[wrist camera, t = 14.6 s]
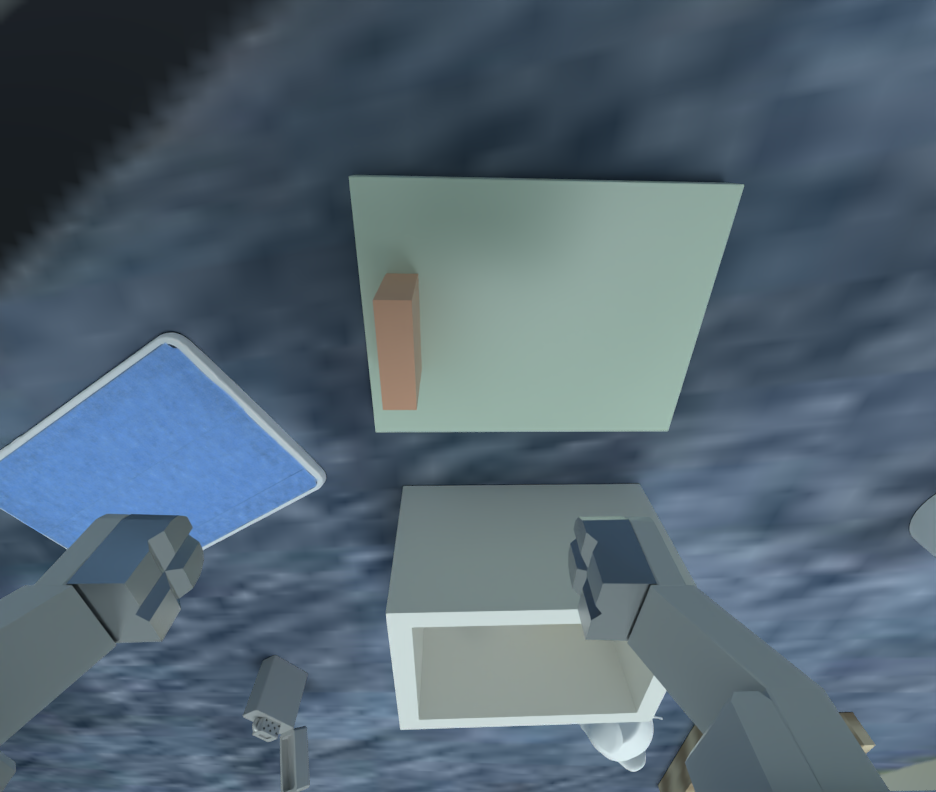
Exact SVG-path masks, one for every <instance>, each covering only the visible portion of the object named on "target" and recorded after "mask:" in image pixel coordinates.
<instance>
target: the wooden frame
mask: <svg viewBox="0 0 936 792" xmlns="http://www.w3.org/2000/svg"><path fill="white" fill-rule="evenodd" d="M839 714H840V715H841V717H842V718H843V720H844V721H845V723H846V724H847V726H848V728H849V729H850V731H851V732H852V734H853V735H854V737H855V738H856V740H857V741H858V743H859V744H860V746H861V747H862V749H863V751H864V752H865V754H866V753H867V752H868V751H869V750H871V749H872V748H873V747H874V746H875V744H874V742H873V741H872V739H871V738H870V736H869V735H868V734H867V732H866V731H865V729H864V728H863V727H862V725H861V724H860V722H859V721H858V720H857V718H856V717H855V715H854V714H853V712H849V713H839ZM702 736H703V733H702V732H701V731H700V730H699V729H698V727H697V726H696V725H694V727H693V729H692V730H691V732H690V734H689V735H688V737H687V738H686V740H685V742H684V743H683V745H682V747H681V748H680V750H679V752H678V753H677V755H676V757H675V758H674V760H673V762H672V763H671V765H670V767H669V768H668V770H667V772H666V773H665V775H664V777H663V778H662V780H661V781H660V783H659V785H658V787H659V790H660V792H695V790H694V787H693V784H692V781H691V779H690V776H689V773H688V770H687V767H686V764H685V761H686V759H687V758H688V756H689V754H690V752H691V751H692V750H693V748H694V747H695V745H696V744H697V743H698V741H699V740H700V738H701V737H702Z"/></svg>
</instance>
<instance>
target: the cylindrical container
mask: <svg viewBox="0 0 936 792" xmlns="http://www.w3.org/2000/svg"><path fill="white" fill-rule="evenodd" d="M909 532H910V534H911V536H912V537H913V538H914V539H915V540H916V541H917V542H918V543H919V544H921V545H922V546H923V547H924V548H925V549H927V550H928V551H929V552H930V553H931V554H932V555H934V556H935V557H936V494H935V495H934V496H932V497H931V498H930V499H928V500H927V501H926V502H925V503H924V504H923V505H922V506H921V507H920V508H919V509H918V510H917V511H916V513H915V514H914V516H913V518H912V519H911V522H910V526H909Z"/></svg>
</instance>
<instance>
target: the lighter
mask: <svg viewBox="0 0 936 792" xmlns="http://www.w3.org/2000/svg"><path fill="white" fill-rule="evenodd" d="M307 676H308V673H306V672H304V671H303V670H301V669H299V668H297V667H296V666H294V665H292V664H290V663H289V662H287V661H285V660H284V659H282V658H280V657H278V656H277V655H273V656H271V657H269V658H267V659H265V660H263V661H262V664H261V667H260V670H259V672H258V675H257V678H256V681H255V684H254V686H253V689H252V692H251V695H250V697H249V700H248V703H247V706H246V708H245V711H244V714H243V717H244V718H246V719H248V720H251V721H253V725H252V728H253V734H252V735H254V736H256V737H258V738H261V739H263V740H265V741H267V742H270V741H273V740H275V739H277V737H278V734H281V736H280V765H281V792H299V791H301V790H304V789H307V788H308V787H309V785H310V780H309V760H308V740H307V727H306V726H303V727H299V728H295V729H293V728H294V724H295V720H296V717H297V713H298V709H299V705H300V702H301V698H302V694H303V691H304V687H305V683H306V679H307Z"/></svg>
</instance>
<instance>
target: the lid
mask: <svg viewBox="0 0 936 792" xmlns="http://www.w3.org/2000/svg"><path fill="white" fill-rule="evenodd" d="M349 185H350V195H351V204H352V213H353V223H354V232H355V242H356V251H357V261H358V270H359V279H360V289H361V298H362V308H363V317H364V326H365V336H366V345H367V355H368V364H369V373H370V383H371V392H372V402H373V411H374V421H375V430H376V432H573V431H668V430H669V426H670V423H671V420H672V417H673V413H674V410H675V407H676V404H677V401H678V397H679V394H680V391H681V388H682V384H683V381H684V378H685V375H686V372H687V368H688V365H689V362H690V359H691V356H692V352H693V349H694V346H695V343H696V339H697V336H698V333H699V330H700V327H701V323H702V320H703V317H704V314H705V310H706V307H707V304H708V301H709V298H710V294H711V291H712V288H713V285H714V281H715V278H716V275H717V272H718V269H719V265H720V262H721V259H722V256H723V252H724V249H725V246H726V243H727V240H728V236H729V233H730V230H731V227H732V224H733V220H734V217H735V214H736V211H737V207H738V204H739V201H740V198H741V195H742V191H743V188H744V185H743V184H735V183H721V182H674V181H626V180H579V179H532V178H484V177H437V176H390V175H352V176H349Z"/></svg>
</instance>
